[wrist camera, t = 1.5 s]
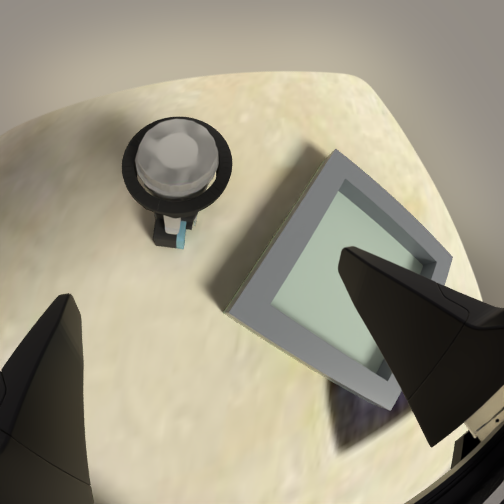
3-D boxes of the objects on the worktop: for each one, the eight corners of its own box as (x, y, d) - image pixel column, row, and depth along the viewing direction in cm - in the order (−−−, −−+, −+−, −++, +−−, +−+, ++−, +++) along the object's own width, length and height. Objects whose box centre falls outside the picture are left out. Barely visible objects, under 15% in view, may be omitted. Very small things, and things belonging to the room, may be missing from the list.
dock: (370, 403, 23) (390, 410, 20) (222, 312, 22) (228, 312, 19) (432, 262, 28) (452, 257, 25) (320, 163, 27) (335, 148, 24)
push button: (151, 167, 22) (143, 81, 13) (217, 175, 23) (243, 95, 14) (136, 248, 21) (105, 198, 11) (207, 257, 22) (229, 213, 12)
